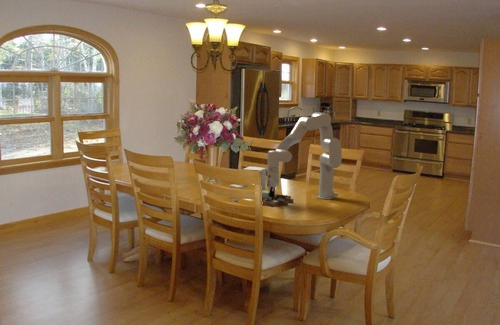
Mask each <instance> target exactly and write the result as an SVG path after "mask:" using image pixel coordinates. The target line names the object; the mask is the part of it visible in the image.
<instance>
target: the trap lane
mask: <svg viewBox="0 0 500 325" xmlns="http://www.w3.org/2000/svg"><path fill="white" fill-rule="evenodd" d="M273 201H275V202H273ZM262 202H263V205H262V206H268V207H274V208H276V207H278V206H286V205H287V206H289V203H291V204H294V198H292V196H291V195H287V194H286V195H285V194H278V193H277V194H275V197H272V200H271V201H270V199H268V198H262ZM262 202H261V203H262Z"/></svg>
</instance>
